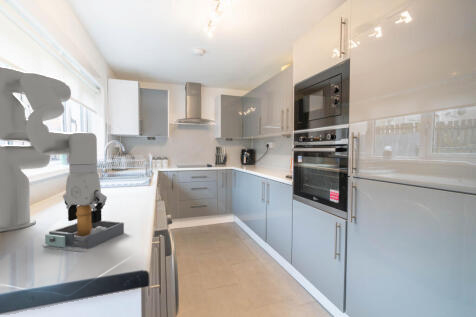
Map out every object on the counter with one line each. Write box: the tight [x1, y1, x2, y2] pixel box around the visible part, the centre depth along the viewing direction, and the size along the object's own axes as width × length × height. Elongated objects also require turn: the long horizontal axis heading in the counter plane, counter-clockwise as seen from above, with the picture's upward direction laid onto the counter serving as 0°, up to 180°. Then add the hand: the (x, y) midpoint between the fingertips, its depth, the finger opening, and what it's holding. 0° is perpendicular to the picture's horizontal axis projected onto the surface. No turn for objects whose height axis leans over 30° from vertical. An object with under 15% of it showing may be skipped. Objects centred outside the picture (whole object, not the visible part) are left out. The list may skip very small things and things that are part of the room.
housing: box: [42, 220, 125, 253], centre depth 70 cm, size 16×15×4 cm
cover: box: [44, 233, 66, 247], centre depth 63 cm, size 7×1×3 cm, turn 75°
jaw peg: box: [76, 205, 93, 237], centre depth 71 cm, size 5×5×10 cm
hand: (84, 220), depth 71 cm, fingers open, 9 cm apart
